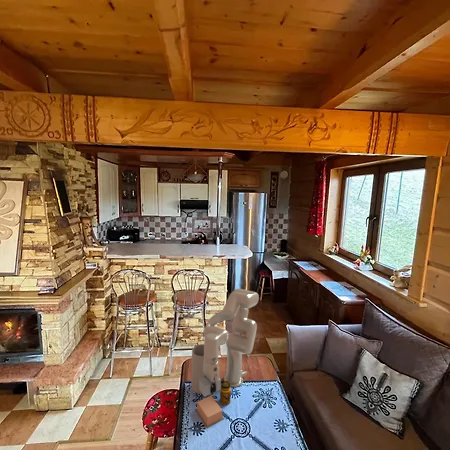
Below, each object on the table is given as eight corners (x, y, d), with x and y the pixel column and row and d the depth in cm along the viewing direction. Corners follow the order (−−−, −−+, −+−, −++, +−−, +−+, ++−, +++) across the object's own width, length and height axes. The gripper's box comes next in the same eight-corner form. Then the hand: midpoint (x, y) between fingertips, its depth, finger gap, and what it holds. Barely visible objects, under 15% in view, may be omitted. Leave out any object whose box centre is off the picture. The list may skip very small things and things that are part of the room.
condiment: (229, 408, 152) (229, 389, 150) (215, 404, 154) (215, 385, 153) (232, 399, 159) (233, 380, 157) (219, 395, 161) (219, 377, 160)
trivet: (211, 402, 156) (211, 401, 156) (224, 420, 144) (224, 419, 144) (194, 410, 150) (194, 409, 150) (206, 429, 138) (206, 428, 138)
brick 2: (197, 409, 149) (197, 401, 149) (211, 403, 154) (211, 395, 154) (207, 426, 139) (207, 417, 139) (222, 418, 144) (222, 410, 144)
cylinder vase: (187, 391, 164) (188, 353, 161) (197, 377, 176) (197, 342, 172) (206, 397, 160) (207, 358, 156) (214, 383, 171) (215, 347, 168)
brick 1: (214, 382, 150) (215, 372, 149) (220, 389, 145) (220, 379, 144) (199, 389, 144) (199, 379, 144) (204, 396, 139) (204, 386, 139)
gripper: (225, 364, 137) (224, 396, 139) (209, 347, 151) (208, 376, 154) (212, 369, 133) (211, 401, 135) (197, 351, 147) (196, 380, 150)
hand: (210, 387), depth 145 cm, fingers closed on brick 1, 6 cm apart
